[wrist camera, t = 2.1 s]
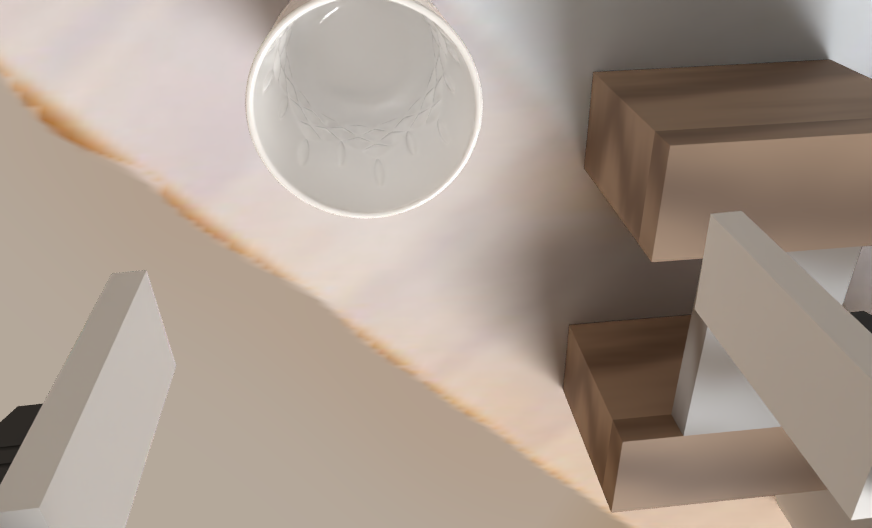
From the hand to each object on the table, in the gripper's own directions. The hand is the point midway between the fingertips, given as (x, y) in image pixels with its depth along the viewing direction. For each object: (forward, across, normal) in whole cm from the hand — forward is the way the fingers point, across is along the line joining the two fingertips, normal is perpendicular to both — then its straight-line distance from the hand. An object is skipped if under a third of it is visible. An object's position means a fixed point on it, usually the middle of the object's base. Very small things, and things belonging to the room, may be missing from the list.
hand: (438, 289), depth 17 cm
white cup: (+19, -1, +1) cm, 19 cm away
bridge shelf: (+19, +15, -11) cm, 27 cm away
